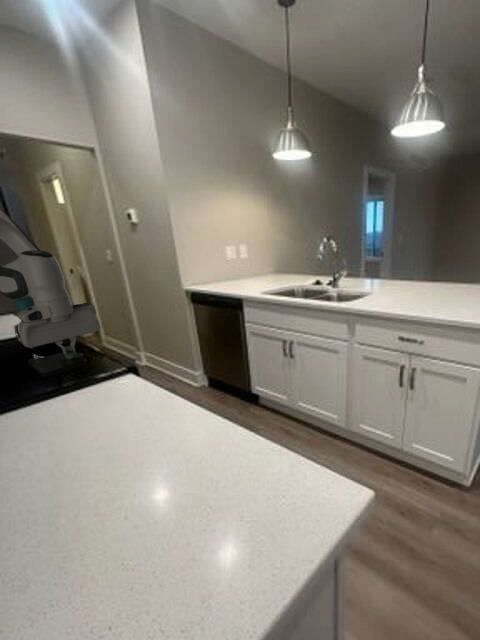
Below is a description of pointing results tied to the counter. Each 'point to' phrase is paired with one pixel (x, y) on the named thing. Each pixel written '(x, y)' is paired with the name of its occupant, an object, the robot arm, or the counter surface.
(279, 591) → the counter surface
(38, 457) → the counter surface
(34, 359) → the wineglass
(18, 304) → the beverage bottle
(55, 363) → the scale
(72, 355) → the tare button
